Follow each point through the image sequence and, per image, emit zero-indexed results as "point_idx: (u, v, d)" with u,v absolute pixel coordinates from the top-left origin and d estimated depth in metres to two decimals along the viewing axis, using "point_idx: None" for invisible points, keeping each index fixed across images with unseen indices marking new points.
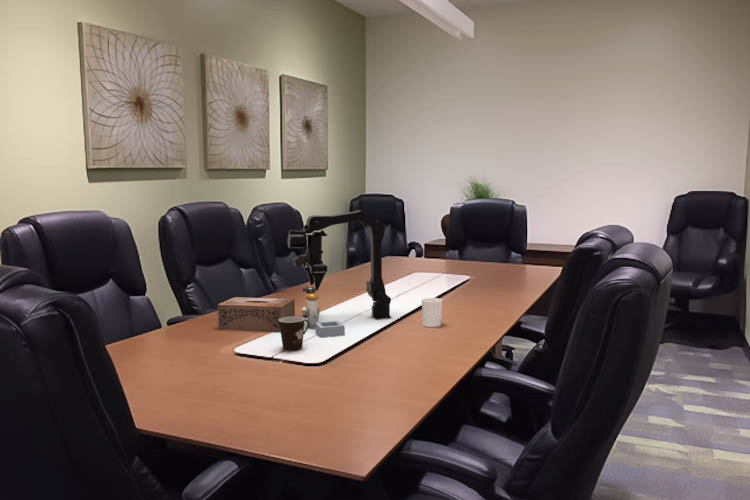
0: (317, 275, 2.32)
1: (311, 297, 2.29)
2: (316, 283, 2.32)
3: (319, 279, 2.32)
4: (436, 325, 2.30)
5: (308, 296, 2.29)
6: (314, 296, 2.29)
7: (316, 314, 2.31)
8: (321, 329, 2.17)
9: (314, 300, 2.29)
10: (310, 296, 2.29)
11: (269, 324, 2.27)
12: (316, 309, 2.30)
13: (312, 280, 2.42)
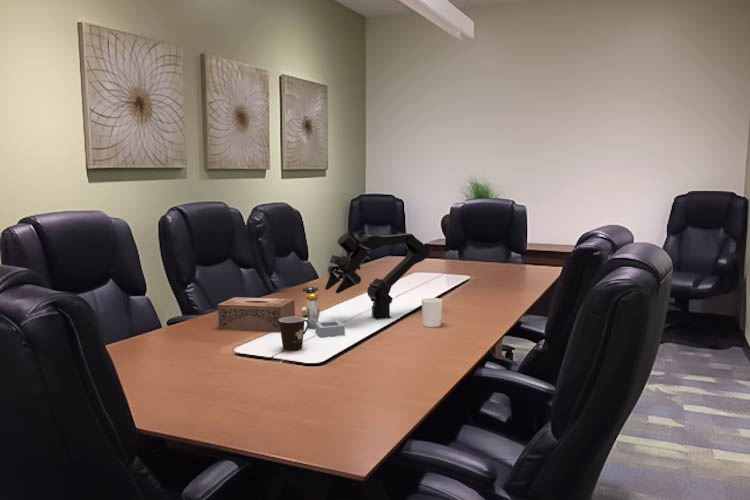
0: (346, 282, 2.31)
1: (311, 297, 2.29)
2: (340, 288, 2.31)
3: (345, 286, 2.31)
4: (436, 325, 2.30)
5: (308, 296, 2.29)
6: (314, 296, 2.29)
7: (316, 314, 2.31)
8: (321, 329, 2.17)
9: (314, 300, 2.29)
10: (310, 296, 2.29)
11: (269, 324, 2.27)
12: (316, 309, 2.30)
13: (329, 286, 2.39)
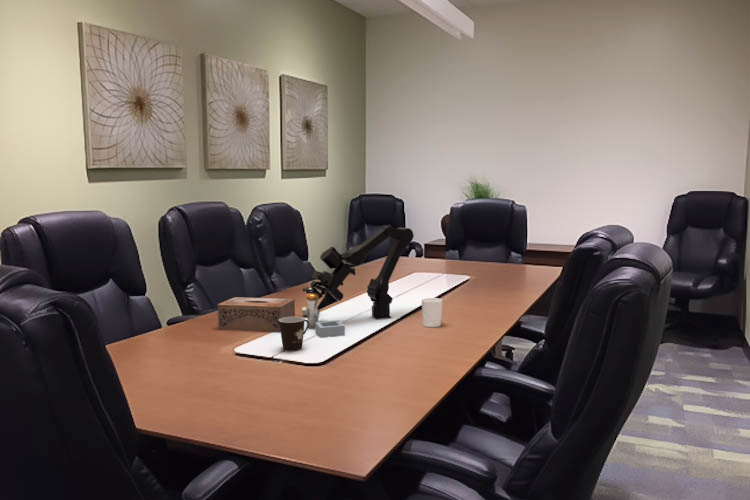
0: (328, 298, 2.28)
1: (311, 297, 2.29)
2: (322, 304, 2.27)
3: (327, 303, 2.28)
4: (436, 325, 2.30)
5: (308, 296, 2.29)
6: (314, 296, 2.29)
7: (316, 314, 2.31)
8: (321, 329, 2.17)
9: (314, 300, 2.29)
10: (310, 296, 2.29)
11: (269, 324, 2.27)
12: (316, 309, 2.30)
13: None
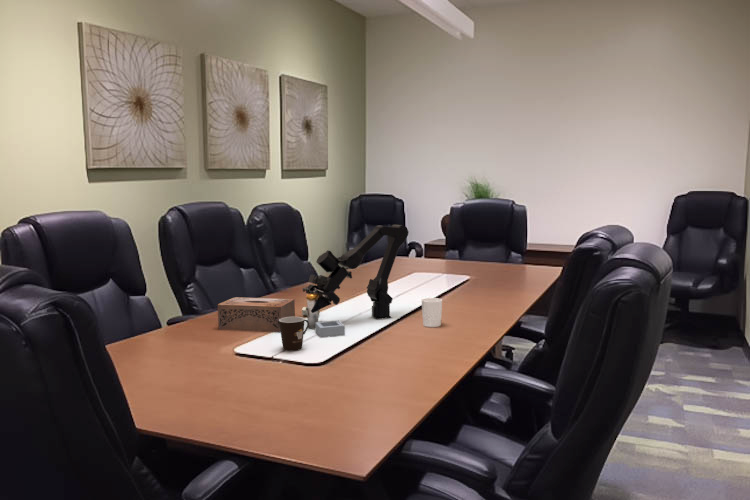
0: (322, 301, 2.29)
1: (311, 297, 2.29)
2: (315, 307, 2.29)
3: (320, 305, 2.29)
4: (436, 325, 2.30)
5: (308, 296, 2.29)
6: (314, 296, 2.29)
7: (316, 314, 2.31)
8: (321, 329, 2.17)
9: (314, 300, 2.29)
10: (310, 296, 2.29)
11: (269, 324, 2.27)
12: None
13: None
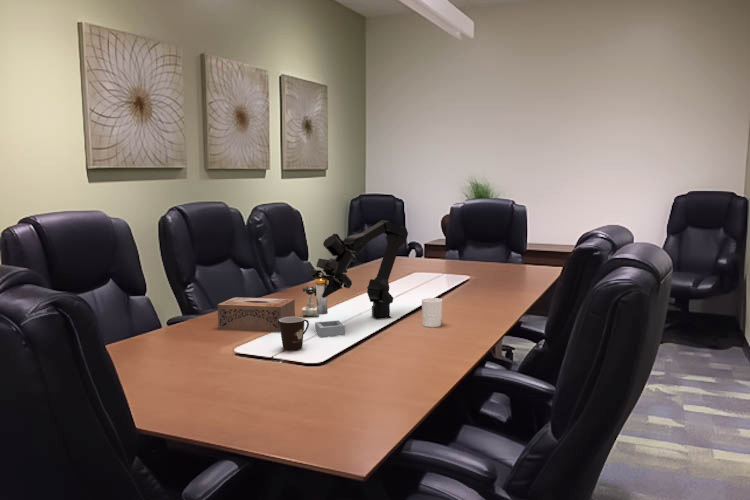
0: (332, 285, 2.23)
1: (322, 282, 2.22)
2: (326, 292, 2.22)
3: (331, 290, 2.23)
4: (436, 325, 2.30)
5: (318, 281, 2.22)
6: (324, 281, 2.22)
7: (326, 299, 2.24)
8: (321, 329, 2.17)
9: (324, 285, 2.23)
10: (320, 281, 2.22)
11: (269, 324, 2.27)
12: None
13: None
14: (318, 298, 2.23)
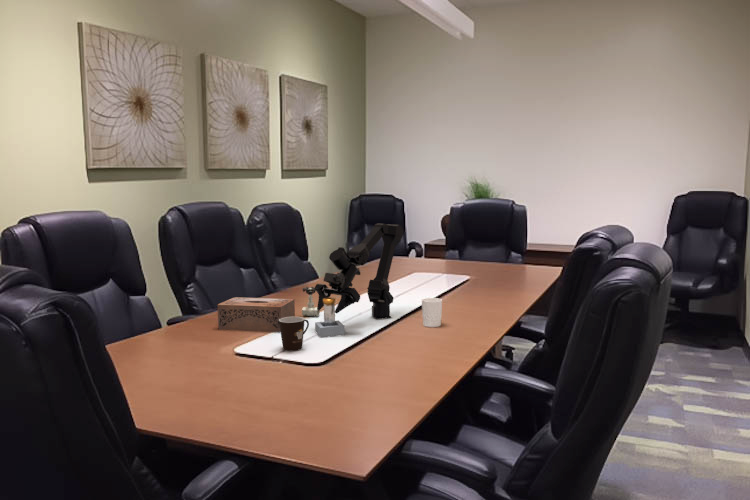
0: (344, 300, 2.20)
1: (330, 302, 2.20)
2: (339, 307, 2.19)
3: (344, 305, 2.20)
4: (436, 325, 2.30)
5: (327, 301, 2.19)
6: (333, 300, 2.20)
7: (334, 319, 2.22)
8: (321, 329, 2.17)
9: (333, 304, 2.21)
10: (329, 301, 2.19)
11: (269, 324, 2.27)
12: (334, 314, 2.22)
13: (321, 306, 2.25)
14: (326, 318, 2.21)
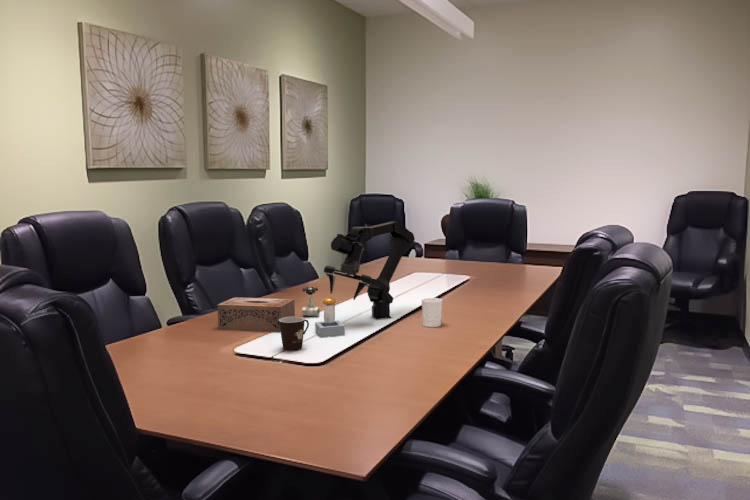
0: None
1: (330, 302, 2.20)
2: (357, 294, 2.32)
3: (359, 290, 2.33)
4: (436, 325, 2.30)
5: (327, 301, 2.20)
6: (333, 300, 2.20)
7: (334, 319, 2.22)
8: (321, 329, 2.17)
9: (333, 304, 2.21)
10: (329, 301, 2.19)
11: (269, 324, 2.27)
12: (334, 314, 2.22)
13: (332, 289, 2.34)
14: (326, 318, 2.21)
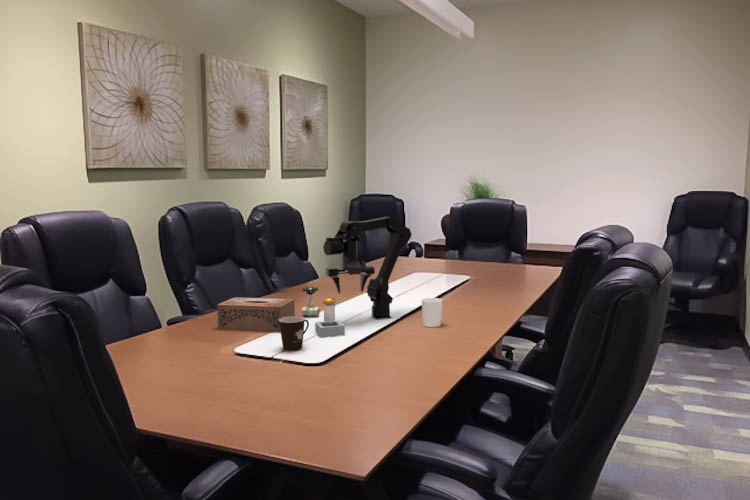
0: None
1: (330, 302, 2.20)
2: None
3: None
4: (436, 325, 2.30)
5: (327, 301, 2.20)
6: (333, 300, 2.20)
7: (334, 319, 2.22)
8: (321, 329, 2.17)
9: (333, 304, 2.21)
10: (329, 301, 2.19)
11: (269, 324, 2.27)
12: (334, 314, 2.22)
13: None
14: (326, 318, 2.21)
